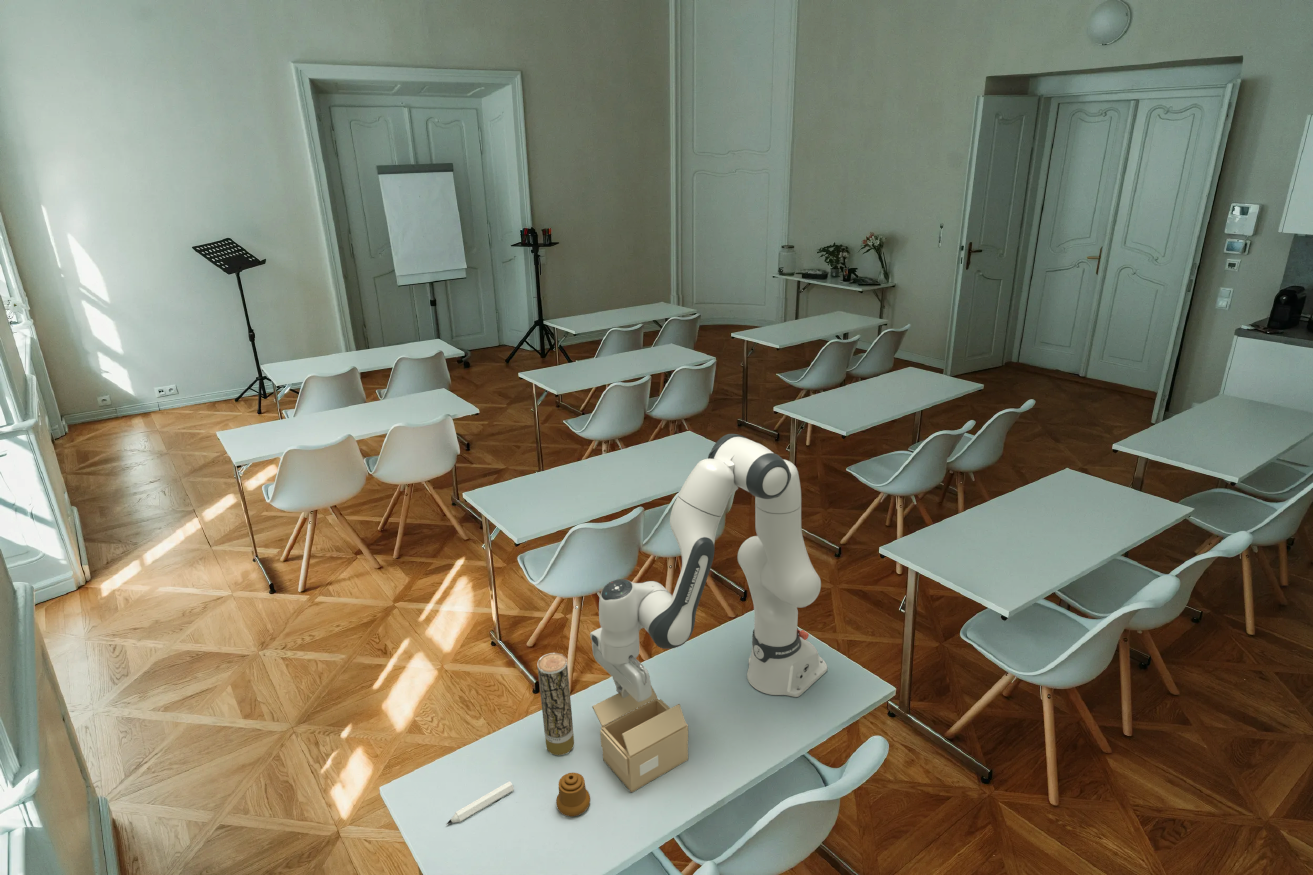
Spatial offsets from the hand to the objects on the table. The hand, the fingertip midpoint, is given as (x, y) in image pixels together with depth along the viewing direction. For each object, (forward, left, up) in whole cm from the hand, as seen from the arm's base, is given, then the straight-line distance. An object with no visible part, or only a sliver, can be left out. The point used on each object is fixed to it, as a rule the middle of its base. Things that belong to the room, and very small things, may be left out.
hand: (622, 693), depth 184 cm
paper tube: (+14, -7, -14) cm, 21 cm away
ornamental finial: (+20, +10, -14) cm, 26 cm away
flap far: (0, +3, -3) cm, 4 cm away
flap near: (0, +14, -3) cm, 15 cm away
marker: (+37, -2, -14) cm, 40 cm away
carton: (0, +9, -14) cm, 16 cm away
